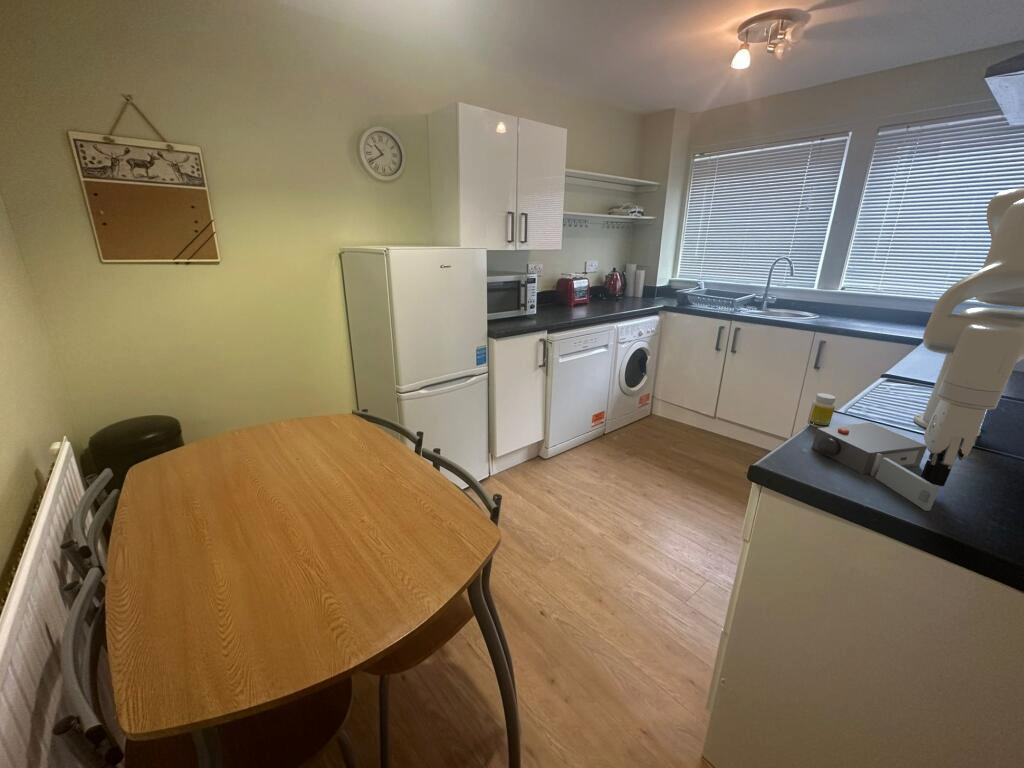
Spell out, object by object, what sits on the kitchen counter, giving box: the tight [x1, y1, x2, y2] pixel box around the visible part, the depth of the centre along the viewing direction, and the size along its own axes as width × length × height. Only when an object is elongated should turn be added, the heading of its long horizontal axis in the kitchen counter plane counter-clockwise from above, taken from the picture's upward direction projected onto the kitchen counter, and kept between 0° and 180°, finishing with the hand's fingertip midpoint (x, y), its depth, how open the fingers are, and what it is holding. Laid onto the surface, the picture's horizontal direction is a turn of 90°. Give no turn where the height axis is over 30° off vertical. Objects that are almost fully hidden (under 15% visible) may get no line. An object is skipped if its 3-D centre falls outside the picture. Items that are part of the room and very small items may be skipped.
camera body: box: [811, 422, 927, 477], centre depth 93 cm, size 18×13×6 cm
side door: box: [874, 458, 940, 512], centre depth 80 cm, size 11×2×5 cm, turn 1°
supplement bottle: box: [807, 392, 836, 429], centre depth 109 cm, size 5×5×8 cm
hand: (931, 482), depth 80 cm, fingers closed
